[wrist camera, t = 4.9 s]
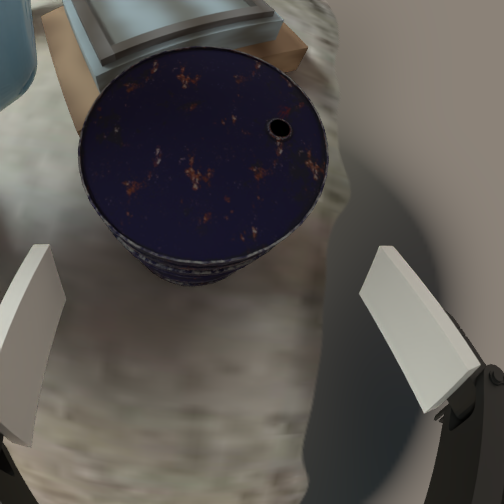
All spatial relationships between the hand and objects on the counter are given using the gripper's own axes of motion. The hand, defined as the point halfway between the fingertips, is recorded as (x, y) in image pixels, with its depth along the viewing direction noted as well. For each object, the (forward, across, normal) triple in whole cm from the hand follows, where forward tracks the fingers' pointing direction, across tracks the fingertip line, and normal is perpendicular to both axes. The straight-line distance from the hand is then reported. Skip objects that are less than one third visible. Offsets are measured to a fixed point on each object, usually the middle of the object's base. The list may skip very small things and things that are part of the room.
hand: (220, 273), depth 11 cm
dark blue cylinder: (+13, -1, -6) cm, 14 cm away
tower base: (+29, -6, +10) cm, 31 cm away
